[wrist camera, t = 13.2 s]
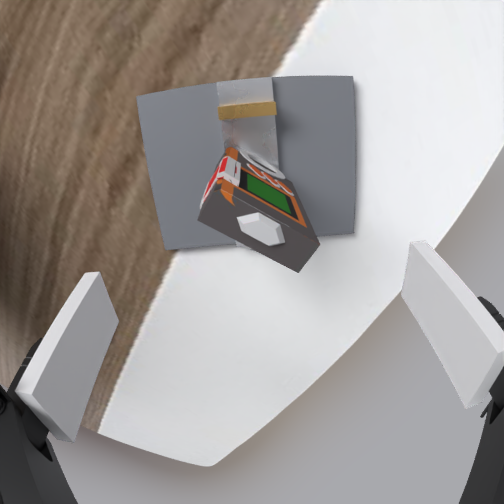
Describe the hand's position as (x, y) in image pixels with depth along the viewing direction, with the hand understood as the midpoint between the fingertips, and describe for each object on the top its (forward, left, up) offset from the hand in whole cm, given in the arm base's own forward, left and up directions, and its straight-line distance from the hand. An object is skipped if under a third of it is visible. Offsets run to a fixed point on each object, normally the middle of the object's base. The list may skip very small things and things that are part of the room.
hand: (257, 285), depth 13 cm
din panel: (0, 0, -22) cm, 22 cm away
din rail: (0, 0, -20) cm, 20 cm away
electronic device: (0, 0, -20) cm, 20 cm away
